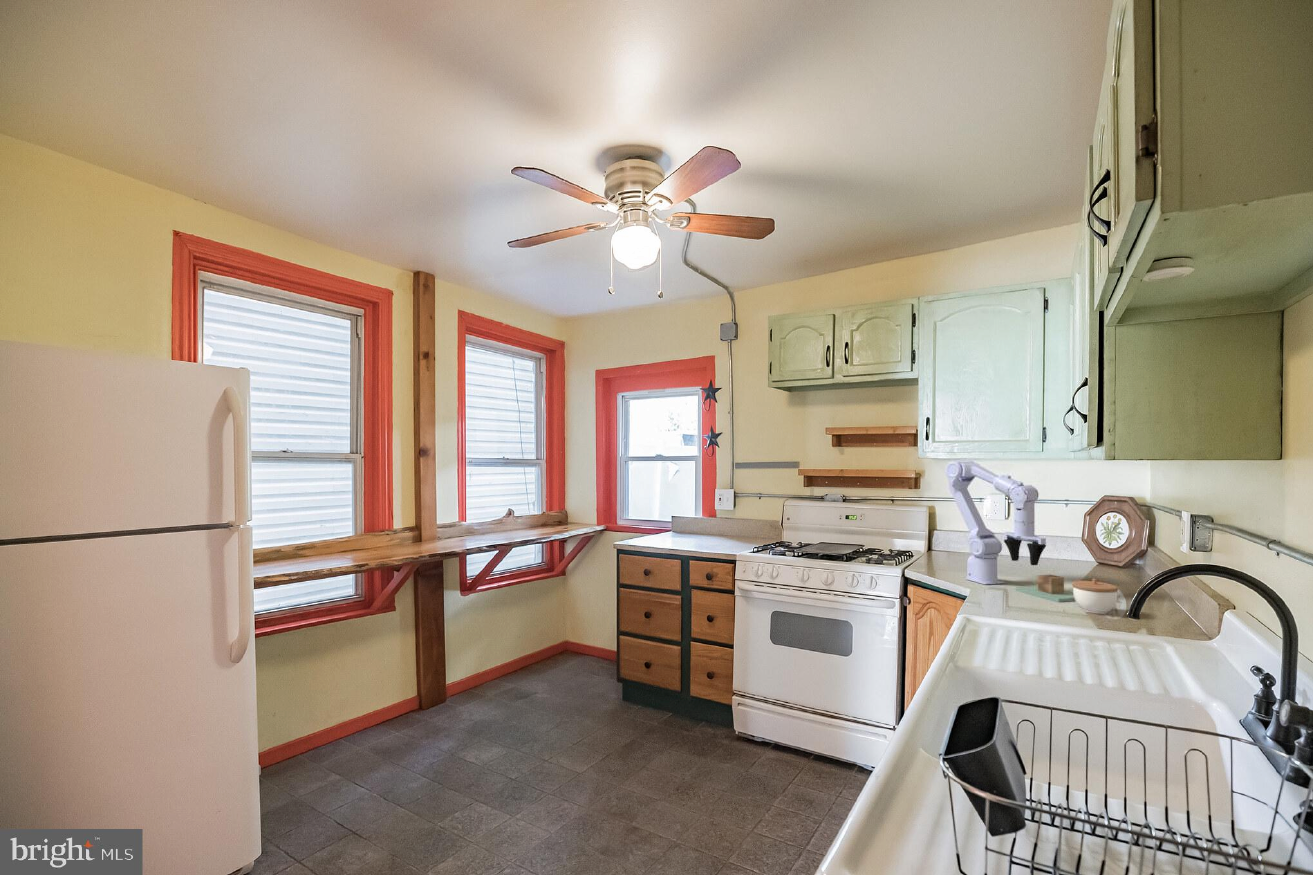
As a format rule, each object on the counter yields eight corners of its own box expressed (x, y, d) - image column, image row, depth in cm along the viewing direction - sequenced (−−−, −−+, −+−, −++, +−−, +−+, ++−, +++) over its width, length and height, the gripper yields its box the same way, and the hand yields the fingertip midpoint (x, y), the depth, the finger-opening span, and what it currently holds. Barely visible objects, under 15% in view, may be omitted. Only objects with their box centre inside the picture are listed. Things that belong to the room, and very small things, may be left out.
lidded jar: (1079, 604, 184) (1079, 573, 185) (1122, 612, 176) (1122, 579, 176) (1067, 610, 178) (1067, 578, 178) (1112, 618, 169) (1111, 584, 170)
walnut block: (1037, 590, 198) (1037, 575, 198) (1050, 589, 200) (1050, 574, 200) (1051, 594, 194) (1051, 578, 194) (1063, 593, 195) (1063, 577, 195)
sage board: (1015, 590, 203) (1015, 587, 203) (1045, 588, 206) (1045, 585, 206) (1058, 602, 187) (1058, 598, 187) (1089, 599, 190) (1089, 596, 190)
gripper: (997, 519, 208) (997, 559, 208) (1033, 525, 194) (1033, 567, 194) (1013, 518, 210) (1014, 558, 210) (1050, 524, 196) (1051, 566, 196)
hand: (1024, 562), depth 202 cm, fingers open, 7 cm apart
